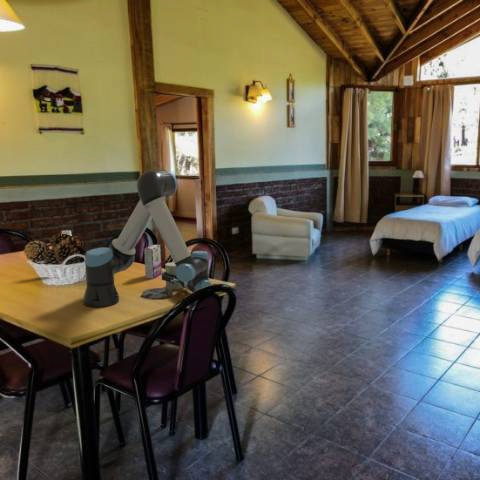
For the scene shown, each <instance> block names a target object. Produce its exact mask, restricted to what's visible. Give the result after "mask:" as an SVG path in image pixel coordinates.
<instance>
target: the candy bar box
mask: <svg viewBox="0 0 480 480" xmlns="http://www.w3.org/2000/svg"><path fill="white" fill-rule="evenodd" d="M143 249H144V250H143V251H144V252H143V253H144V267H145V268H144V269H145V270H144V272H145V279H149V280H151V279H152V280H153V279H156V278H158V277H160V275H161V270H162V257H161V256H162V255H161V253H162V251H161V244H151V245H149V246H147V247H145V248H143ZM161 276H162V275H161Z"/></svg>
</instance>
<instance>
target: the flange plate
mask: <svg viewBox="0 0 480 480" xmlns="http://www.w3.org/2000/svg"><path fill="white" fill-rule="evenodd" d="M173 292H174V291H173V289H167V288H166V287H155V288H148V289H145V290H143V291H142V293H141V294H142V295H141V296H142V297H143V298H145V299H150V300H159V299H160V300H161V299H168V298H170V297H172V296H173V295H174V293H173Z"/></svg>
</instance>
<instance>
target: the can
mask: <svg viewBox="0 0 480 480" xmlns="http://www.w3.org/2000/svg"><path fill="white" fill-rule="evenodd" d="M164 265H165V268H164V269H165V272H167V273H168V274H172V275H176V273H175V271H176V268H177V267H176V265H175V263H174V261H172V262H167V263H165V264H164ZM165 288H167V289H171V290H181V289H183V288H184V287H182V285H181V284H180V283H178V282H174V283H173V284H172V283H171V282H168V281H165ZM184 289H185V288H184Z"/></svg>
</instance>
